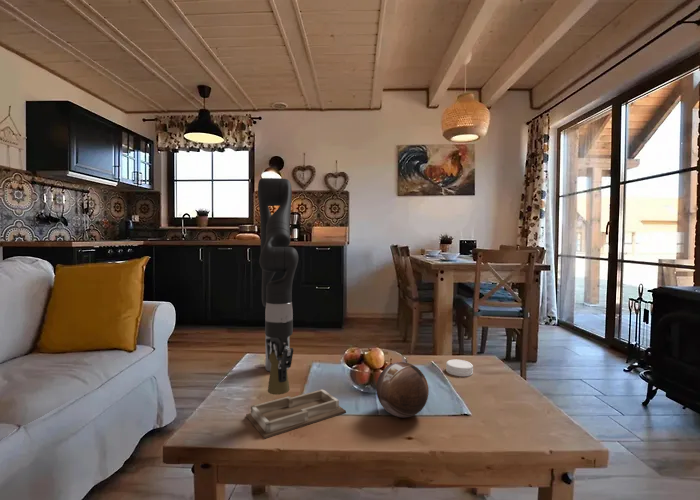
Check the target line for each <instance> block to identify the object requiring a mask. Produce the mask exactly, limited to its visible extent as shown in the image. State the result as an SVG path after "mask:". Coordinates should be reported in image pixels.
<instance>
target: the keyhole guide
mask: <svg viewBox="0 0 700 500" xmlns="http://www.w3.org/2000/svg"><path fill="white" fill-rule="evenodd" d="M346 413H347V410H346V409H345V408H343V407H342V406H340V400H339V399H338V398H336V397H335V396H334V395H332V394H330V393H329V392H328V391H326V390H325V389H323V388H322V389H318V390H315V391H310V392H306V393H303V394H299V395H296V396H292V397H291V396H290V395H287V396H285V397H281V398H276V399H273V400H269V401H266V402H262V403H258V404H254V405H251V406H250V413H246V418H247V419H248V420H249V422H250V423H251V424H252V426H253V427H254V428H255V429H256V430H257V431H258V433H259V434H260V436H262V438H263V439H264V440H265V439H268V438H271V437H275V436H277V435H280V434H284V433H287V432H290V431H293V430H296V429H300V428H302V427H305V426H308V425H311V424H316V423H318V422H321V421H324V420H327V419H330V418H333V417H336V416H340V415H343V414H346Z"/></svg>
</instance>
